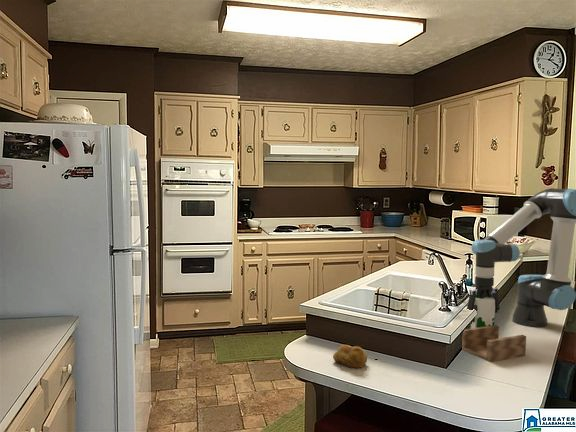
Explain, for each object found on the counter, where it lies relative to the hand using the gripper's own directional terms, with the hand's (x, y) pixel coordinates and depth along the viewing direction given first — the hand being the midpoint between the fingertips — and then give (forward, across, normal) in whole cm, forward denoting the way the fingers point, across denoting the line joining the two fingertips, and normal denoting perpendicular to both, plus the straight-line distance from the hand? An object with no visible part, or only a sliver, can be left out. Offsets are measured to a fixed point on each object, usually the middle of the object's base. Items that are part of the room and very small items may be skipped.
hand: (482, 327), depth 215 cm
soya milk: (+5, 0, 0) cm, 5 cm away
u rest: (+5, +9, +15) cm, 18 cm away
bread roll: (+5, +68, +5) cm, 68 cm away
